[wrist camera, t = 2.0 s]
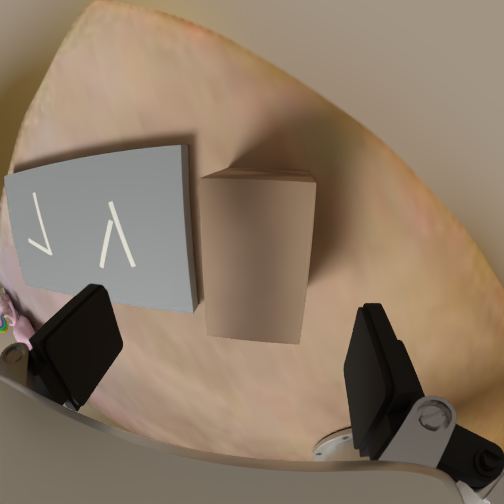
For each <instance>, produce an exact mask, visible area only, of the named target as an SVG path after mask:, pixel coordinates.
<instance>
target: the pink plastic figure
mask: <svg viewBox="0 0 504 504" xmlns="http://www.w3.org/2000/svg"><path fill="white" fill-rule="evenodd" d="M1 288H2V287H1ZM1 288H0V289H1ZM0 313H1V316H0V323H1V325H2V326H1V327H0V332H1V333H5V332H6V331H7V329H8V324H7V322H6V320H5V319H4V317H9V318H10V319H11V320H12V321H13V323H10V324H9V325H10V326H14V329H13V332H14V336H15V338H16V340H17V341H18V342H22V343H25V344H27V346H28V347H29V349H30V350H31V349H32V346H31V344H30V342H29V339H30V338H31V337H32V336H33V335H34V334H35V331H34V329H33V328H32V325H31V324H30V321H29V320H28V319H27V318H26V317H21V318H20V319H19V318H18V313H17V311H16V310H15V309H14V307H13V304H12V302H11V299H10V297H9V295H8V294H6V293H3V294H0Z"/></svg>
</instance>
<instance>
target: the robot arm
mask: <svg viewBox="0 0 504 504" xmlns="http://www.w3.org/2000/svg"><path fill="white" fill-rule="evenodd" d="M29 342H30V344H31V346H32V349H31V350H30V349H29V347H28V346H27V344H25V343H22V342H17V343H14V344H11V345H9V346H8V347H7V348H5V349H4V350H3V352H2V353H1V355H0V504H504V453H503V451H502V449H501V448H500V447H499V446H498V445H496V444H495V443H493V442H491V441H489V440H487V439H485V438H483V437H481V436H479V435H477V434H475V433H473V432H471V431H469V430H467V429H465V428H463V427H461V426H459V425H457V424H456V419H457V416H456V411H455V409H454V407H453V406H452V405H451V404H450V402H449V401H447V400H445V399H444V398H442V397H438V396H426V397H425V395H424V393H423V390H422V387H421V385H420V382H419V380H418V377H417V375H416V372H415V370H414V367H413V365H412V362H411V360H410V358H409V355H408V353H407V350H406V348H405V346H404V344H403V342H402V341H401V340H397V338H396V335H395V333H394V331H393V329H392V326H391V324H390V322H389V320H388V317H387V315H386V313H385V311H384V309H383V307H382V305H381V304H380V303H365V304H364V305H363V307H359V308H358V311H357V315H356V319H355V324H354V328H353V332H352V336H351V340H350V344H349V348H348V352H347V356H346V359H345V363H344V378H345V384H346V391H347V397H348V405H349V412H350V420H351V428H349V429H345V430H342V431H339V432H336V433H334V434H332V435H329V436H328V437H326V438H324V439H323V440H321V441H320V442H319V443H318V444H317V445H316V446H315V447H314V449H313V460H314V461H285V460H269V459H257V458H247V457H238V456H231V455H224V454H217V453H211V452H206V451H200V450H195V449H191V448H186V447H181V446H177V445H173V444H169V443H165V442H161V441H157V440H153V439H150V438H146V437H143V436H140V435H136V434H133V433H130V432H127V431H124V430H121V429H118V428H115V427H112V426H110V425H107V424H104V423H102V422H99V421H96V420H94V419H91V418H89V417H87V416H84V415H82V414H80V413H77V412H75V411H78V410H79V408H80V407H81V406H83V405H84V404H85V403H86V401H87V400H88V398H89V397H90V395H91V394H92V392H93V391H94V389H95V388H96V386H97V385H98V383H99V382H100V381H101V379H102V378H103V376H104V375H105V373H106V372H107V370H108V369H109V367H110V366H111V365H112V363H113V362H114V360H115V359H116V357H117V356H118V354H119V353H120V352H121V350H122V348H123V341H122V338H121V335H120V331H119V328H118V325H117V322H116V318H115V315H114V312H113V308H112V305H111V301H110V297H109V293H108V291H107V289H105V287H104V286H103V285H100V284H93V283H90V284H88V285H87V286H86V287H85V288H84V289H83V290H81V291H80V292H79V293H78V294H77V295H76V296H75V297H73V298H72V299H71V300H70V301H69V302H68V303H67V304H66V305H65V306H63V307H62V308H61V309H60V310H59V311H58V312H57V313H56V314H55V315H54V316H53V317H51V318H50V319H49V320H48V321H47V322H46V323H45V324H44V325H43V326H42V327H41V328H40V329H39V330H38V331H37V332H36V333H35V334H34V335H33V336H32V337H31V338H30V339H29ZM64 403H65V404H66V406H67V407H68V408H70V409H72V410H70V409H68V408H66V407H64V406H63V404H64ZM73 410H74V411H73Z"/></svg>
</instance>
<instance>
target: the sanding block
mask: <svg viewBox="0 0 504 504" xmlns="http://www.w3.org/2000/svg"><path fill="white" fill-rule="evenodd" d="M199 189H200V226H201V250H202V270H203V286H204V301H205V315H206V327H207V336H215V337H223V338H231V339H240V340H250V341H260V342H272V343H285V344H299V343H300V336H301V329H302V322H303V315H304V307H305V300H306V291H307V283H308V274H309V265H310V256H311V246H312V235H313V224H314V211H315V198H316V182H315V180H314V179H313V177H312V176H311V174H310V173H309V172H308V171H296V170H278V169H253V168H226V169H223V170H221V171H218V172H215V173H212V174H210V175H207V176H204V177H202V178H199Z"/></svg>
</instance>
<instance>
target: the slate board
mask: <svg viewBox="0 0 504 504" xmlns="http://www.w3.org/2000/svg"><path fill="white" fill-rule="evenodd" d="M4 178H5V189H6V197H7V204H8V211H9V217H10V223H11V228H12V233H13V238H14V242H15V247H16V251H17V255H18V259H19V263H20V267H21V270H22V274H23V277H24V281H25V284H26V285H28V286H32V287H36V288H41V289H45V290H50V291H54V292H59V293H64V294H69V295H74V296H76V295H77V294H78V293H79V292H80V291H81V290H83V289H84V288H85V287H86V286H87V285H88V284H90V283H93V284H100V285H103V286H104V287H105V289H107V291H108V293H109V297H110V301H111V302H113V303H119V304H126V305H132V306H139V307H146V308H153V309H160V310H168V311H176V312H184V313H193V314H194V312H195V310H196V308H197V307H198V295H197V285H196V275H195V264H194V252H193V239H192V224H191V208H190V188H189V161H188V145H173V146H162V147H152V148H143V149H134V150H127V151H119V152H113V153H106V154H100V155H94V156H88V157H83V158H77V159H72V160H67V161H63V162H58V163H53V164H49V165H45V166H41V167H36V168H32V169H29V170H25V171H21V172H17V173H14V174H10V175H7V176H5V177H4Z"/></svg>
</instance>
